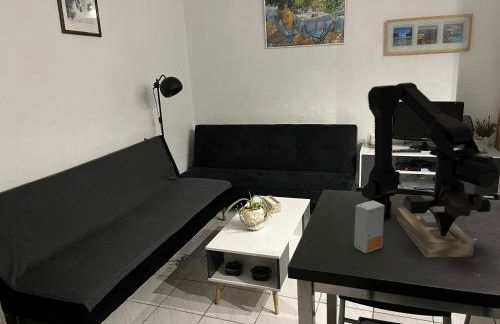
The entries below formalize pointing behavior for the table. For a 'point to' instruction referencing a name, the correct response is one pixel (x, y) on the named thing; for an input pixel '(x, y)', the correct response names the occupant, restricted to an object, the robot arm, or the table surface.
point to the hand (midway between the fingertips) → (443, 235)
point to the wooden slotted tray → (429, 242)
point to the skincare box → (369, 226)
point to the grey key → (428, 221)
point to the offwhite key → (424, 214)
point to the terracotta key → (439, 236)
